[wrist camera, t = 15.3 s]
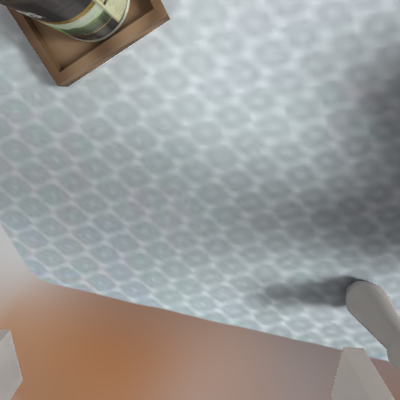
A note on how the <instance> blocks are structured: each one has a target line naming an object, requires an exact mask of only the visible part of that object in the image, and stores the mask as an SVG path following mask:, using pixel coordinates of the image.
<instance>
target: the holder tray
mask: <svg viewBox="0 0 400 400" xmlns="http://www.w3.org/2000/svg"><path fill="white" fill-rule="evenodd" d="M7 8H8V10H9V11H10V13H11V14H12V16H13V17H14V19H15V20H16V22H17V23H18V25H19V26H20V28H21V30H22V31H23V33H24V34H25V36H26V37H27V39H28V40H29V42H30V43H31V45H32V46H33V48H34V50H35V51H36V53H37V54H38V56H39V57H40V59H41V60H42V62H43V63H44V65H45V66H46V68H47V69H48V71H49V73H50V74H51V76H52V77H53V79H54V80H55V82H56V83H57V85H59V86H69V85H71V84H72V83H74V82H75V81H77V80H78V79H80V78H81V77H83V76H85V75H86V74H88V73H89V72H91V71H92V70H94V69H95V68H97V67H98V66H100V65H101V64H103V63H104V62H106V61H107V60H109V59H110V58H112V57H113V56H115V55H116V54H118V53H119V52H121V51H122V50H124V49H125V48H127V47H128V46H130V45H132V44H133V43H135V42H136V41H138V40H139V39H141V38H142V37H144V36H145V35H147V34H148V33H150V32H151V31H153V30H154V29H156V28H157V27H159V26H160V25H162V24H163V23H165V22H166V21H168V20H169V19H170V18H169V16H168V14H167V12H166V10H165V8H164V6H163V4H162V2H161V0H130V5H129V10H128V13H127V16H126V18H125V20H124V22H123V24H122V25H121V27H120V28H119V29H118V30H117V31H116V32H115V33H114V34H113V35H111V36H110V37H108V38H106V39H104V40H101V41H97V42H84V41H79V40H76V39H74V38H72V37H70V36H68V35H66V34H65V33H63V32H61V31H59V30H56V29H54V28H52V27H50V26H48V25H46V24H44V23H42V22H40V21H37V20H35V19H33V18H31V17H29V16H26V15H24V14H22V13H20V12H18V11H16V10H14V9H12V8H10V7H7Z"/></svg>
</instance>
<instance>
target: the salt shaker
mask: <svg viewBox="0 0 400 400" xmlns="http://www.w3.org/2000/svg"><path fill="white" fill-rule="evenodd" d="M345 302H346V306H347V309H348V311H349V312H350V313H351V314H352V315H353V316H354V317H355V318H356V319H357V320H358V321H359V322H360V323H361V324H362V325H363V326H364V327H365V328H366V329H367V330H368V331H369V332H370V333H371V334H372V335H373V336H374V337H375V338H376V339H377V340H378V341H379V342H380V343H381V344H382V345H383V346H384V347H385V348H386V349H387V355H388V359H389V361H390V362H391V364H392V365H393V366H394V367H395V368H396V369H397V370H398V371H399V372H400V316H399V314H398V312H397V311H396V309H395V307H394V305H393V304H392V302H391V300H390V298H389V296H388V295H387V293H386V292H385V291H384V290H383V289H382V288H381V287H380V286H378V285H376V284H373V283H371V282H368V281H357V280H356V281H355V282H353V283H352V284H351V285H349V286H348V287H347V288H346V300H345Z"/></svg>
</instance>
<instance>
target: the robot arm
mask: <svg viewBox="0 0 400 400" xmlns="http://www.w3.org/2000/svg"><path fill="white" fill-rule="evenodd" d="M22 381H23V379H22V375H21V371H20V367H19V363H18V359H17V355H16V351H15V347H14V343H13V339H12V336H11V331H10V330H0V400H10V399H11V397H12V396H13V394H14V393H15V391H16V390H17V388H18V387H19V386H20V384H21V382H22ZM331 400H395V399H394V398H393V396H392V394H391V393H390V391H389V390H388V388H387V386H386V385H385V383H384V382H383V380H382V378H381V377H380V375H379V373H378V372H377V370H376V368H375V367H374V365H373V364H372V362H371V361H370V359H369V357H368V355H367V354H366V352H365V351H364V349H363V348H347V347H343V349H342V353H341V357H340V361H339V365H338V369H337V374H336V378H335V381H334V386H333V390H332V394H331Z"/></svg>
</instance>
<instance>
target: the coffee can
mask: <svg viewBox="0 0 400 400" xmlns="http://www.w3.org/2000/svg"><path fill="white" fill-rule="evenodd" d="M0 3H1V4H3V5H5V6H7V7H10V8H12V9H14V10H16V11H18V12H20V13H22V14H24V15H26V16H29V17H31V18H33V19H35V20H37V21H40V22H42V23H44V24H46V25H48V26H50V27H52V28H54V29H56V30H59V31H61V32H63V33H65V34H66V35H68V36H70V37H72V38H74V39H76V40H79V41H84V42H97V41H101V40H104V39H106V38H108V37H110V36H111V35H113V34H114V33H115V32H116V31H117V30H118V29H119V28H120V27H121V25H122V24H123V22H124V20H125V18H126V16H127V13H128V10H129V5H130V0H0Z"/></svg>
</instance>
